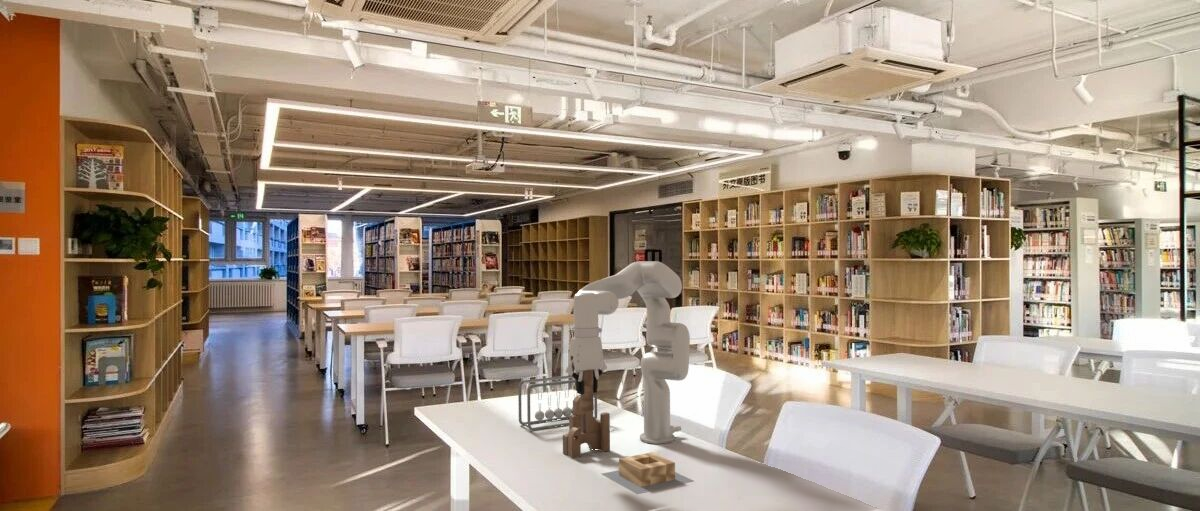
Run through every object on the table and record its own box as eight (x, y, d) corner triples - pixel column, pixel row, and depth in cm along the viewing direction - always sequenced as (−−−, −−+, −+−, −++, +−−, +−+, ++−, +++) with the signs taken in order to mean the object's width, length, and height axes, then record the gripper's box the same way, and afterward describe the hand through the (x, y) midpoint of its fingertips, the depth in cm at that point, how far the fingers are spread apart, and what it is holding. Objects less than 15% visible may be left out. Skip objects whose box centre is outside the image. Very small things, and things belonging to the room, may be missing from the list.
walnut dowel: (589, 407, 206) (589, 355, 206) (596, 410, 203) (595, 357, 203) (578, 409, 204) (577, 357, 204) (584, 411, 201) (583, 358, 201)
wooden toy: (571, 458, 220) (570, 382, 219) (562, 453, 225) (561, 379, 225) (611, 451, 227) (611, 378, 227) (601, 446, 233) (601, 375, 233)
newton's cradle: (528, 431, 253) (527, 385, 253) (518, 425, 263) (517, 380, 263) (597, 421, 268) (597, 377, 268) (586, 416, 277) (585, 373, 277)
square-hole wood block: (651, 468, 207) (651, 452, 207) (675, 479, 197) (674, 462, 197) (619, 475, 201) (618, 458, 201) (641, 487, 191) (641, 469, 191)
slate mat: (655, 464, 212) (655, 462, 212) (694, 482, 195) (694, 480, 195) (601, 475, 202) (601, 473, 202) (637, 495, 185) (637, 493, 185)
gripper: (603, 330, 211) (604, 387, 211) (556, 333, 202) (556, 393, 203) (615, 332, 204) (616, 391, 204) (567, 336, 196) (568, 398, 196)
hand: (586, 392), depth 203 cm, fingers closed on walnut dowel, 4 cm apart
